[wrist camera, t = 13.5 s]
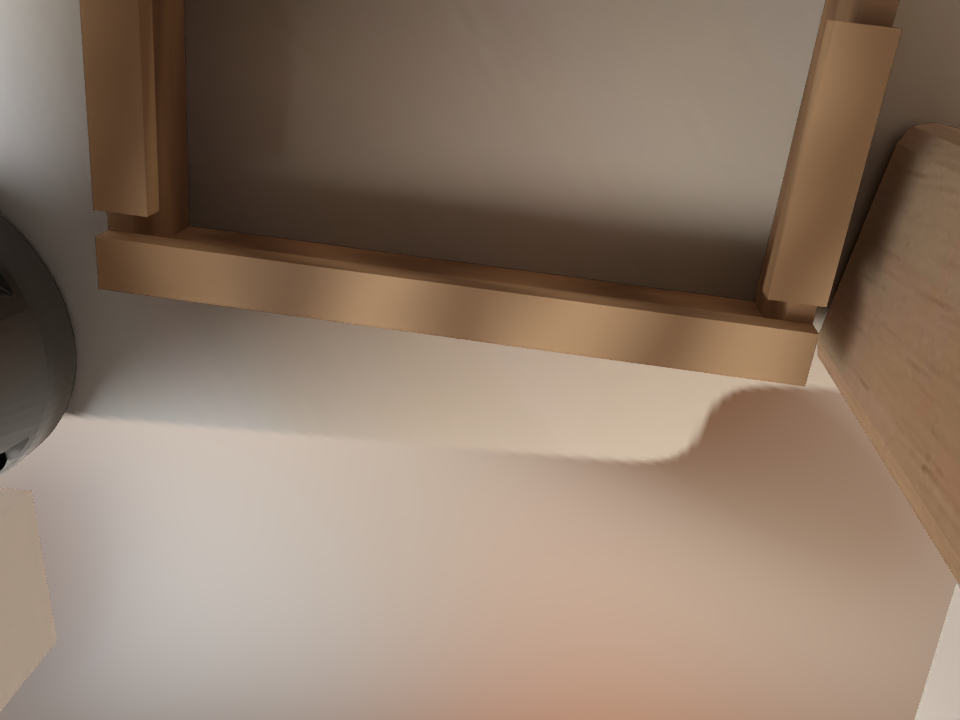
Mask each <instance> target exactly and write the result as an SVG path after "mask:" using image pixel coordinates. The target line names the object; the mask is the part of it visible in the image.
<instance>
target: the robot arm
mask: <svg viewBox="0 0 960 720" xmlns="http://www.w3.org/2000/svg"><path fill="white" fill-rule="evenodd" d="M74 376H75V346H74V338H73V333H72V327H71V323H70V320H69V316H68V313H67V310H66V307H65V304H64V302H63V299H62V297H61V295H60V292H59V290H58V288H57V286H56V284H55V282H54V280H53V278H52V277H51V275H50V273H49V271H48V270H47V268H46V266H45V265H44V263H43V262H42V260H41V259H40V257H39V256H38V255H37V253H36V252H35V251H34V249H33V248H32V247H31V246H30V244H29V243H28V242H27V241H26V240H25V238H24V237H23V236H22V235H21V234H20V233H19V232H18V231H17V230H16V229H15V228H14V227H13V226H12V225H11V224H10V223H9V222H8V221H7V220H6V219H5V218H4V217H3V216H1V215H0V475H1V474H3V473H4V472H6V471H7V470H9V469H10V468H12V467H13V466H15V465H16V464H17V463H18V462H19V461H20V460H22V459H23V458H24V457H25V456H27V455H28V454H29V453H30V452H31V451H32V450H34V449H35V448H36V447H37V446H38V445H40V444H41V443H42V442H43V441H44V440H45V439H46V438H47V437H48V436H49V435H50V434H51V432H52V431H53V430H54V429H55V427H56V426H57V424H58V423H59V421H60V420H61V418H62V416H63V414H64V412H65V410H66V407H67V405H68V402H69V399H70V396H71V393H72V388H73V383H74ZM56 641H57V636H56V630H55V624H54V619H53V613H52V607H51V602H50V595H49V589H48V583H47V577H46V572H45V567H44V560H43V554H42V548H41V542H40V536H39V531H38V525H37V519H36V513H35V507H34V501H33V495H32V491H30V490H20V489H9V488H0V711H1V710H2V709H3V707H4V706H5V705H6V704H7V703H8V701H9V700H10V699H11V698H12V696H13V695H14V694H15V693H16V691H17V690H18V689H19V688H20V686H21V685H22V684H23V683H24V681H25V680H26V679H27V678H28V676H29V675H30V674H31V673H32V671H33V670H34V669H35V668H36V666H37V665H38V664H39V663H40V661H41V660H42V659H43V657H44V656H45V655H46V654H47V653H48V651H49V650H50V649H51V648H52V646H53V645H54V644H55V643H56ZM915 720H960V583H956V586H955V590H954V593H953V596H952V599H951V603H950V606H949V609H948V613H947V616H946V619H945V622H944V626H943V629H942V632H941V636H940V639H939V642H938V645H937V649H936V652H935V655H934V659H933V662H932V665H931V669H930V672H929V675H928V678H927V682H926V685H925V688H924V691H923V695H922V698H921V701H920V704H919V708H918V711H917V714H916V717H915Z"/></svg>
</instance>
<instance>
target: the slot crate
mask: <svg viewBox="0 0 960 720" xmlns="http://www.w3.org/2000/svg"><path fill="white" fill-rule="evenodd" d="M898 3H899V0H826V1H825V6H824V10H823V14H822V18H821V22H820V27H819V31H818V35H817V39H816V43H815V48H814V52H813V56H812V60H811V64H810V69H809V73H808V77H807V81H806V85H805V90H804V94H803V98H802V102H801V107H800V111H799V115H798V119H797V123H796V128H795V132H794V136H793V140H792V144H791V149H790V153H789V157H788V161H787V165H786V170H785V174H784V178H783V182H782V186H781V191H780V195H779V199H778V203H777V208H776V212H775V216H774V220H773V224H772V229H771V233H770V237H769V241H768V245H767V250H766V254H765V258H764V262H763V266H762V271H761V275H760V279H759V283H758V288H757V292H756V296H755V300H754V301H748V300H740V299H733V298H725V297H718V296H710V295H703V294H695V293H687V292H680V291H672V290H665V289H657V288H650V287H642V286H635V285H627V284H620V283H612V282H605V281H597V280H590V279H582V278H575V277H567V276H560V275H552V274H545V273H537V272H530V271H522V270H515V269H507V268H500V267H492V266H485V265H477V264H470V263H462V262H455V261H447V260H440V259H432V258H425V257H417V256H410V255H402V254H395V253H387V252H380V251H372V250H365V249H357V248H350V247H342V246H334V245H327V244H319V243H312V242H304V241H297V240H289V239H282V238H274V237H267V236H259V235H252V234H244V233H237V232H229V231H222V230H214V229H207V228H199V227H192V226H189V201H188V159H187V116H186V73H185V31H184V0H80V14H81V30H82V45H83V60H84V75H85V90H86V106H87V121H88V136H89V151H90V166H91V181H92V197H93V210H98V211H106V212H107V213H108V230H107V231H105V232H103V233H101V234H100V235H98V236H96V237H95V242H96V257H97V273H98V288H99V289H104V290H111V291H118V292H125V293H133V294H140V295H147V296H154V297H162V298H169V299H176V300H183V301H190V302H198V303H205V304H212V305H219V306H227V307H234V308H241V309H248V310H256V311H263V312H270V313H277V314H285V315H292V316H299V317H306V318H313V319H321V320H328V321H335V322H342V323H350V324H357V325H364V326H371V327H379V328H386V329H393V330H400V331H408V332H415V333H422V334H429V335H436V336H444V337H451V338H458V339H465V340H473V341H480V342H487V343H494V344H502V345H509V346H516V347H523V348H531V349H538V350H545V351H552V352H559V353H567V354H574V355H581V356H588V357H596V358H603V359H610V360H617V361H625V362H632V363H639V364H646V365H654V366H661V367H668V368H675V369H682V370H690V371H697V372H704V373H711V374H719V375H726V376H733V377H740V378H748V379H755V380H762V381H769V382H777V383H784V384H791V385H798V386H805V384H806V381H807V377H808V373H809V370H810V366H811V362H812V359H813V355H814V351H815V348H816V344H817V340H818V337H819V333H818V332H817V330H816V329H815V327H814V326H813V321H814V317H815V313H816V309H817V306H821V307H827V303H828V300H829V296H830V292H831V289H832V285H833V281H834V278H835V274H836V270H837V267H838V263H839V259H840V256H841V252H842V248H843V245H844V241H845V237H846V234H847V230H848V226H849V223H850V219H851V215H852V211H853V208H854V204H855V200H856V197H857V193H858V189H859V186H860V182H861V178H862V175H863V171H864V167H865V164H866V160H867V156H868V153H869V149H870V145H871V142H872V138H873V134H874V131H875V127H876V123H877V120H878V116H879V112H880V108H881V105H882V101H883V97H884V94H885V90H886V86H887V83H888V79H889V75H890V72H891V68H892V64H893V61H894V57H895V53H896V50H897V46H898V42H899V39H900V35H901V31H902V29H900V28H894V27H892V25H893V21H894V18H895V14H896V10H897V7H898Z"/></svg>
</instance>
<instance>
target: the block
mask: <svg viewBox="0 0 960 720" xmlns="http://www.w3.org/2000/svg"><path fill="white" fill-rule="evenodd" d="M817 345H818V357H819V358H820V360H821V361H822V363H823V365H824V366H825V368H826V370H827V371H828V373H829V374H830V376H831V378H832V379H833V381H834V382H835V384H836V386H837V387H838V389H839V391H840V392H841V394H842V395H843V397H844V399H845V400H846V402H847V404H848V405H849V407H850V408H851V410H852V412H853V413H854V415H855V416H856V418H857V420H858V421H859V423H860V424H861V426H862V428H863V429H864V431H865V433H866V434H867V436H868V437H869V439H870V441H871V442H872V444H873V445H874V447H875V449H876V450H877V452H878V454H879V455H880V457H881V459H882V460H883V462H884V463H885V465H886V466H887V468H888V470H889V471H890V473H891V475H892V476H893V478H894V479H895V481H896V483H897V484H898V486H899V487H900V489H901V491H902V493H903V494H904V496H905V497H906V499H907V501H908V502H909V504H910V505H911V507H912V509H913V510H914V512H915V514H916V515H917V517H918V518H919V520H920V522H921V523H922V525H923V526H924V528H925V530H926V531H927V533H928V535H929V536H930V538H931V539H932V541H933V543H934V544H935V546H936V547H937V549H938V550H939V552H940V554H941V556H942V557H943V558H944V560H945V562H946V564H947V565H948V567H949V569H950V570H951V572H952V573H953V575H954V577H955V578H956V580H957V582H958V583H960V129H959V128H955V127H951V126H947V125H942V124H938V123H928V124H922V125H915V126H912V127H910V128H909V129H908V130H907V132H906V133H905V134H904V135H903V137H902V138H901V139H900V140H899V141H898V142H897V144H896V146H895V149H894V151H893V154H892V156H891V159H890V161H889V164H888V166H887V168H886V171H885V173H884V176H883V178H882V181H881V183H880V186H879V188H878V191H877V193H876V195H875V198H874V200H873V203H872V205H871V208H870V210H869V213H868V215H867V217H866V220H865V222H864V225H863V227H862V230H861V232H860V235H859V237H858V240H857V242H856V244H855V247H854V249H853V252H852V254H851V257H850V259H849V262H848V264H847V266H846V269H845V271H844V274H843V276H842V279H841V281H840V284H839V286H838V289H837V291H836V293H835V296H834V298H833V301H832V303H831V306H830V308H829V311H828V313H827V316H826V318H825V320H824V323H823V325H822V328H821V330H820V333H819V337H818V340H817Z"/></svg>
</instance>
